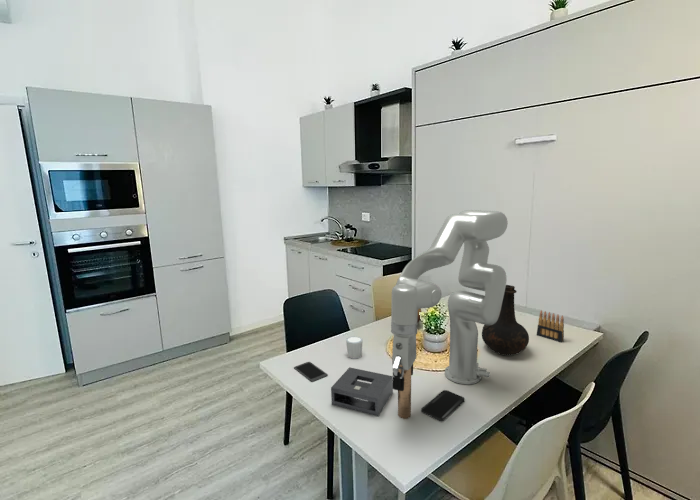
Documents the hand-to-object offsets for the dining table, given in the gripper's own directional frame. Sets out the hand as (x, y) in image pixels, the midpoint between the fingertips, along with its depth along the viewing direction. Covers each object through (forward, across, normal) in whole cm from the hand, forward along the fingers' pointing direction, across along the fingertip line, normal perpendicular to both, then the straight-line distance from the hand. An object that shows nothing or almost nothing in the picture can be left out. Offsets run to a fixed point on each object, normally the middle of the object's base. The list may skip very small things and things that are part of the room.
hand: (403, 381), depth 108 cm
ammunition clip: (+9, +78, -44) cm, 90 cm away
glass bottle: (+10, +58, -26) cm, 64 cm away
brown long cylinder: (+11, +1, 0) cm, 11 cm away
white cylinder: (+11, +31, +30) cm, 44 cm away
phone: (+11, +10, -10) cm, 18 cm away
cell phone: (+12, +12, +40) cm, 43 cm away
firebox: (+11, +4, +15) cm, 19 cm away
